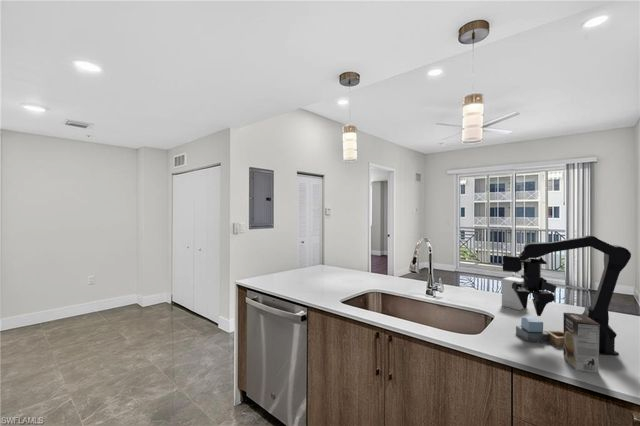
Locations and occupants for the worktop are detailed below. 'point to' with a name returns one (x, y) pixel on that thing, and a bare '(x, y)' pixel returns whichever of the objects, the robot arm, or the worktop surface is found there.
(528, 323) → the plug
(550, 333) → the tan shallow tray
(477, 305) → the worktop surface
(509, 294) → the supplement box
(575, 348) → the coffee box
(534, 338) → the port
